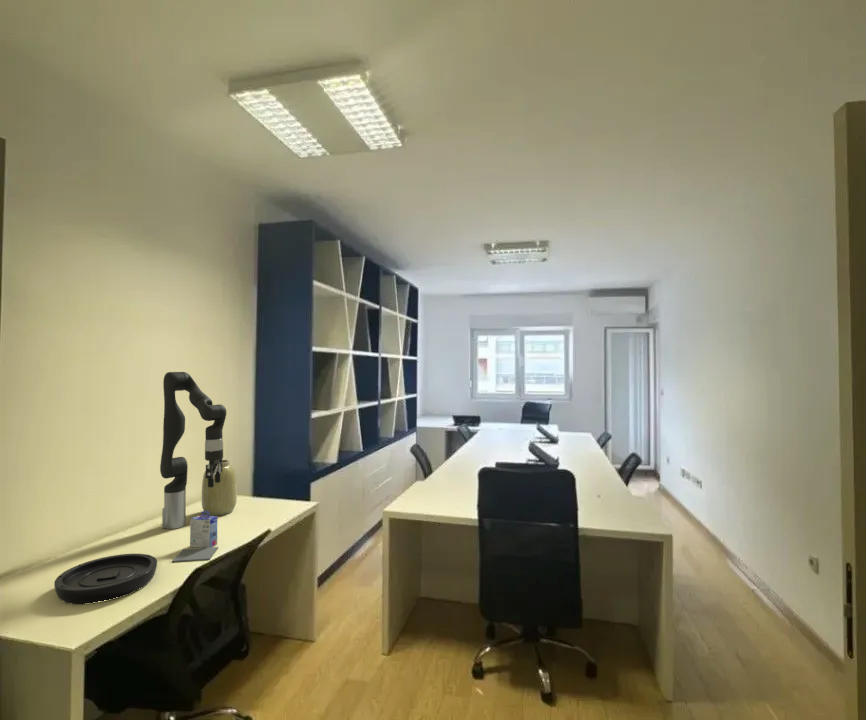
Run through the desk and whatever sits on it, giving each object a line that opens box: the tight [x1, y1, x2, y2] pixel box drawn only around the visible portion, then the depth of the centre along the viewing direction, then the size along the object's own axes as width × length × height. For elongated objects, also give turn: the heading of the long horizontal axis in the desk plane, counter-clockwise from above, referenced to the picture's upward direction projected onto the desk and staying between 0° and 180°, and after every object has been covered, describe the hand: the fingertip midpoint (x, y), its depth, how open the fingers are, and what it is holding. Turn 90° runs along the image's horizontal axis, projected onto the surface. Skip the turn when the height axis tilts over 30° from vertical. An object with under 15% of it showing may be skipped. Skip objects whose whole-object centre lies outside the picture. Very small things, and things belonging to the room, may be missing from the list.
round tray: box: [53, 553, 158, 605], centre depth 167 cm, size 30×6×30 cm
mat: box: [171, 546, 219, 563], centre depth 193 cm, size 14×12×1 cm
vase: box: [201, 459, 238, 517], centre depth 250 cm, size 17×17×27 cm
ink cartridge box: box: [189, 510, 218, 548], centre depth 204 cm, size 10×6×14 cm, turn 80°
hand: (214, 484), depth 212 cm, fingers open, 8 cm apart
